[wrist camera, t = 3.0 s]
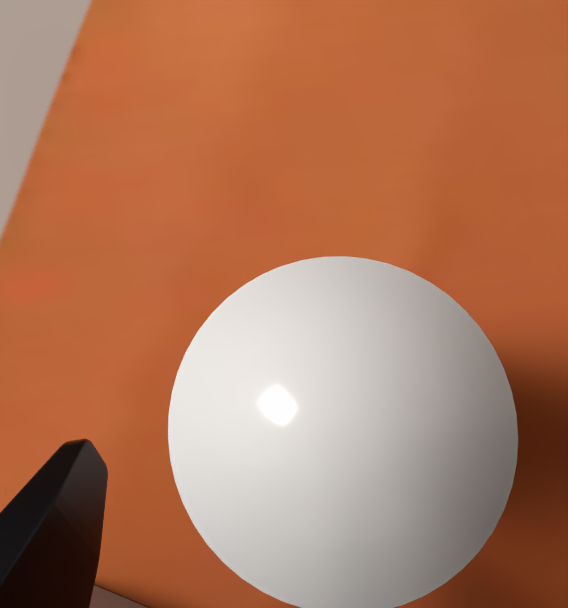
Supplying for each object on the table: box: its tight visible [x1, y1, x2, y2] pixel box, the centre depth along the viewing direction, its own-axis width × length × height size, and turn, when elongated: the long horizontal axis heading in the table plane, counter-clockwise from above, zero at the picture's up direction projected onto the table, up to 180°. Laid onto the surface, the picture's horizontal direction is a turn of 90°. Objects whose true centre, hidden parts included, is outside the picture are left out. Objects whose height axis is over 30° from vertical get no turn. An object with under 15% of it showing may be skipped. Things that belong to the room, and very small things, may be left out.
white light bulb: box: [168, 256, 518, 608], centre depth 12 cm, size 5×5×10 cm
